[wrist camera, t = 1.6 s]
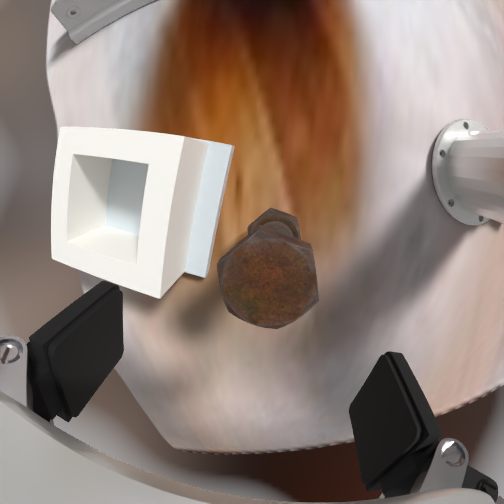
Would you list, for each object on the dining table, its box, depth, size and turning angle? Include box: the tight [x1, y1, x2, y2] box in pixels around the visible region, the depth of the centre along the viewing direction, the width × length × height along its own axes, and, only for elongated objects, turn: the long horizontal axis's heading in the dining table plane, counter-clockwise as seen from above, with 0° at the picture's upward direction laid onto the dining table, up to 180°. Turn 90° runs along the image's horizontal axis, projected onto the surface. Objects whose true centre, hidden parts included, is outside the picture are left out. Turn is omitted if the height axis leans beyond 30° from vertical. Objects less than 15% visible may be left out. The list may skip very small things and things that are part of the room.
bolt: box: [217, 208, 319, 329], centre depth 21 cm, size 6×5×15 cm
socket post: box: [51, 127, 235, 299], centre depth 25 cm, size 18×14×8 cm
